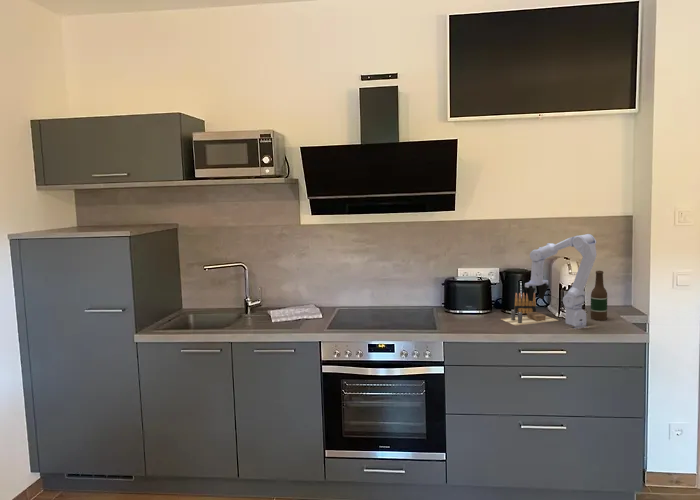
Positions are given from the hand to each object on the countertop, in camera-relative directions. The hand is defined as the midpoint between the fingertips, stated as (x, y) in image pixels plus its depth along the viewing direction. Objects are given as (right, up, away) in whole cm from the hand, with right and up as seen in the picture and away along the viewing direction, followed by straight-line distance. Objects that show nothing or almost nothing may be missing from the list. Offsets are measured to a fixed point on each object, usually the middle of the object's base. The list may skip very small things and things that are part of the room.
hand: (535, 299), depth 294 cm
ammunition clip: (-3, -9, +9) cm, 13 cm away
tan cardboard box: (-1, -9, -4) cm, 10 cm away
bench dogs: (-12, -11, -7) cm, 18 cm away
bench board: (-5, -11, -5) cm, 13 cm away
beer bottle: (+30, -9, -4) cm, 32 cm away
